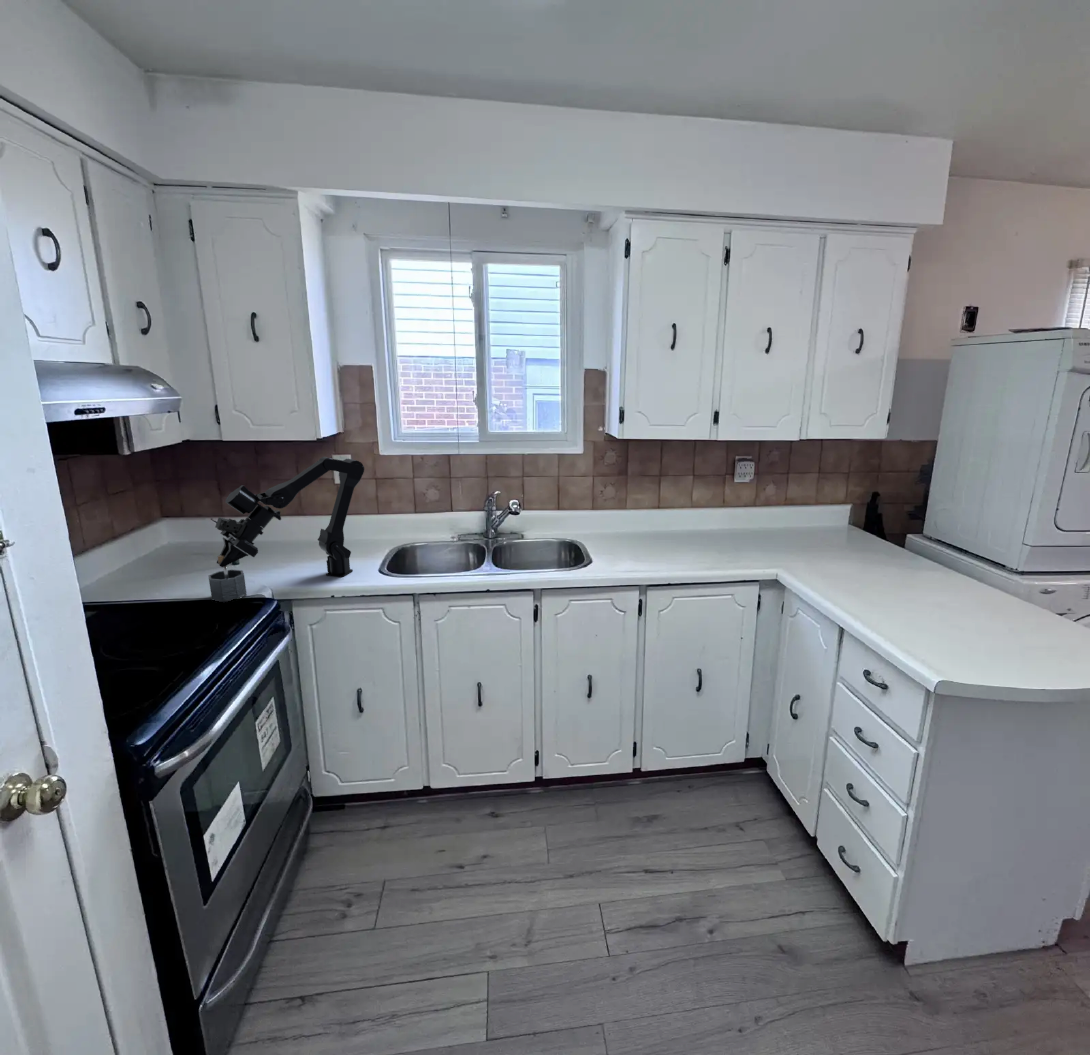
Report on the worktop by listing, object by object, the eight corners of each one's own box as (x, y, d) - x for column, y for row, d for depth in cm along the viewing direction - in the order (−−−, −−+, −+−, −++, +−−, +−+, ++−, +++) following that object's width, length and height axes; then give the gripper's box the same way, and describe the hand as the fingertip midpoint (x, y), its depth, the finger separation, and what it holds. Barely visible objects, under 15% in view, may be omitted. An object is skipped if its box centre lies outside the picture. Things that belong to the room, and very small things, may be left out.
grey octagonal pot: (253, 592, 170) (250, 571, 168) (231, 603, 161) (228, 581, 160) (227, 590, 172) (224, 568, 170) (204, 601, 163) (200, 578, 161)
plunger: (245, 586, 169) (241, 553, 166) (229, 594, 162) (224, 560, 160) (226, 584, 170) (222, 551, 167) (210, 592, 164) (205, 558, 161)
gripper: (224, 501, 169) (187, 543, 165) (240, 512, 156) (201, 558, 151) (255, 522, 176) (220, 563, 172) (273, 535, 163) (236, 578, 158)
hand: (219, 565), depth 163 cm, fingers closed on plunger, 3 cm apart
